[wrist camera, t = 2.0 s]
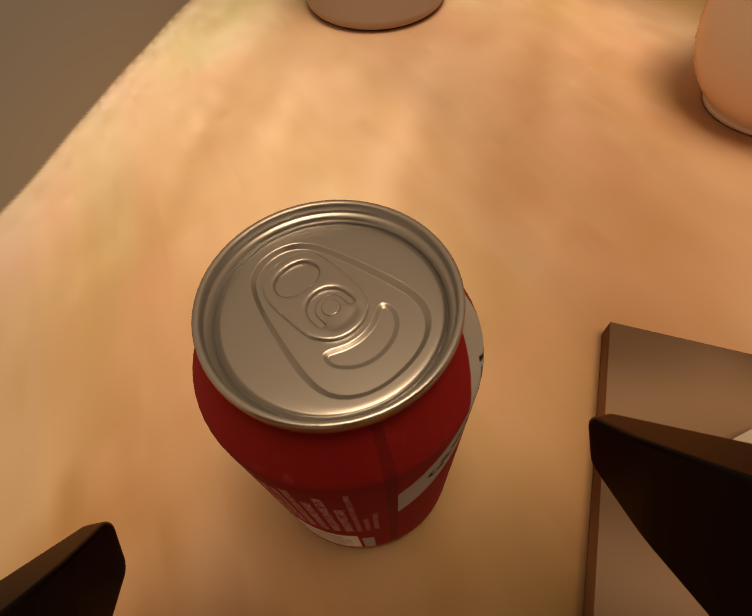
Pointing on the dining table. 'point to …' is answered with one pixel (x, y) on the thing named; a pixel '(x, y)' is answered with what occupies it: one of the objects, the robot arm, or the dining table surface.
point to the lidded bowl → (726, 62)
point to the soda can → (339, 364)
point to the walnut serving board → (668, 407)
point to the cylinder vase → (372, 12)
